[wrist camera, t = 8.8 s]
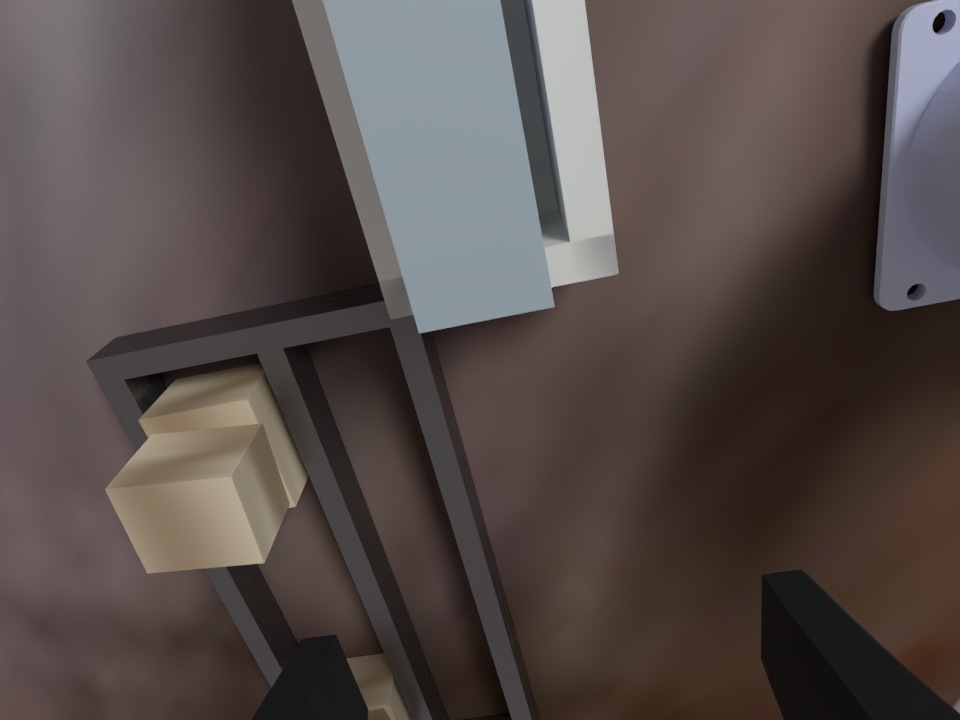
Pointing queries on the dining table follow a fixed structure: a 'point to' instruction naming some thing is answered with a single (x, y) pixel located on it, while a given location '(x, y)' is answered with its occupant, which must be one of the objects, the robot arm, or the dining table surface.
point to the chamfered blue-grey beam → (446, 154)
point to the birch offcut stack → (210, 474)
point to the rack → (333, 475)
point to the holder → (547, 129)
